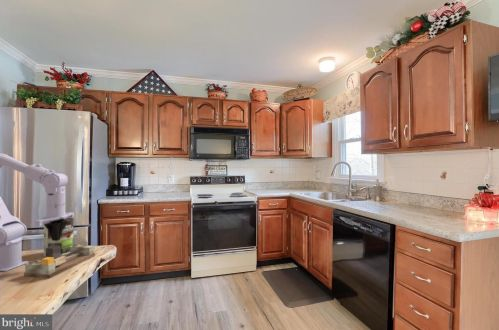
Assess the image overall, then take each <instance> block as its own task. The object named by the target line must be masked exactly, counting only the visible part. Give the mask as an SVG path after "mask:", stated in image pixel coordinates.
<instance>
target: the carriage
mask: <svg viewBox="0 0 499 330" xmlns="http://www.w3.org/2000/svg"><path fill="white" fill-rule="evenodd" d="M46 257H54V263H55V266H57V265H59V264H61V263H64V262H66V256H65V255H62V256H61V246H56V245H53V246H50V247H48V248H46ZM46 257H44V258H46ZM44 258H41V259H40V262H42V259H44Z"/></svg>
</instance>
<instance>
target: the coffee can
mask: <svg viewBox="0 0 499 330" xmlns="http://www.w3.org/2000/svg"><path fill="white" fill-rule="evenodd" d="M64 220H67V224H66V225H65V227H64V229H63V231H62V234H61V237H60V240H58V241H52V238H51V235H50V233H49V231H48V229H47V228H46V227H45V225H44V224H43V256H44V258H46V248H48V247H50V246H53V245H56V246H61V256H65V255H67V254H70V246H73V245H74V217H72V218H67V219H64Z"/></svg>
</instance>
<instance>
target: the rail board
mask: <svg viewBox="0 0 499 330" xmlns="http://www.w3.org/2000/svg"><path fill="white" fill-rule="evenodd" d="M64 256H66V262H64V263H61V264H59V265H57V266H55V263H53V264H51V265H42V262H41V261H38V260H31V261H30V262H28V263H26V264H24V265H25V266H24V267H25V270H24V271H25V272H23V276H24V277H26V278H27V277H28V278H43V279H51V278H53V277H55V276H58V275H59V274H62V273H64V272H65V271H67V270H69V269H71V268H74V267H75V266H78V265H80V264H82V263H84V262H85V261H88V260H89V259H91V258H94V257H95V256H96V253H95V245H88V244H87V245H84V244H79V243H77V244H73V246H70V253H69V254H66V255H64Z"/></svg>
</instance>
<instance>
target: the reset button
mask: <svg viewBox="0 0 499 330" xmlns="http://www.w3.org/2000/svg"><path fill="white" fill-rule="evenodd" d="M41 259H42V265H51V264H53V263H54V257H44V259H43V258H41Z"/></svg>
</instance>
